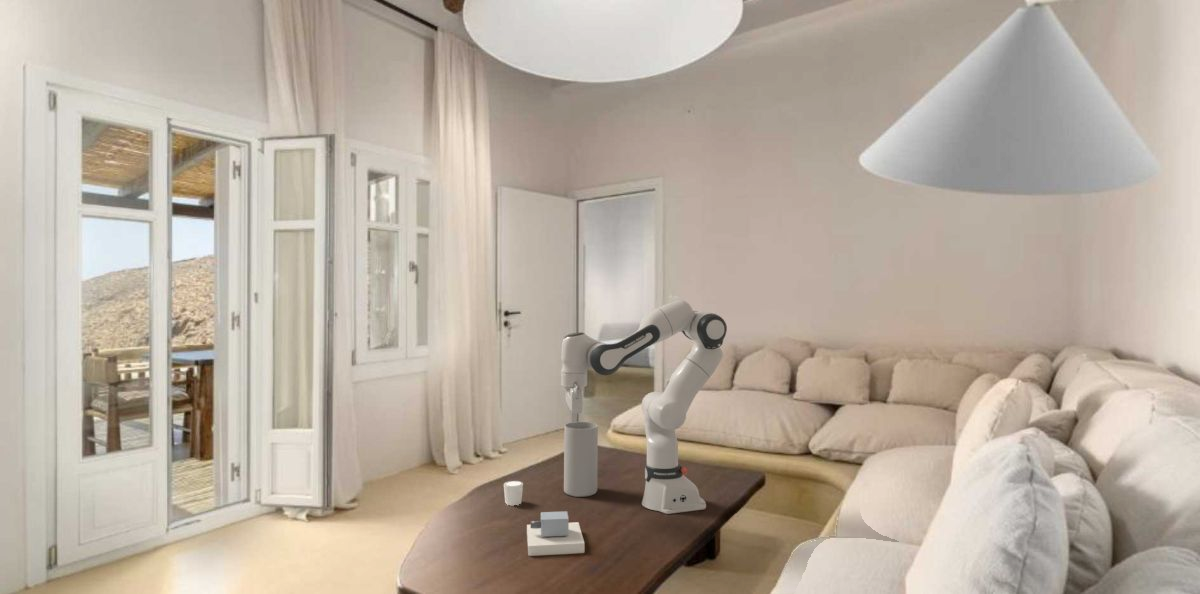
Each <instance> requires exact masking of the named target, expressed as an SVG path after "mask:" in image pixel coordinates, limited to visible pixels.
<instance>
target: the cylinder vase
mask: <svg viewBox="0 0 1200 594" xmlns="http://www.w3.org/2000/svg"><path fill="white" fill-rule="evenodd" d="M563 426H564V431H563V434H564V437H563V438H564V439H563V492H564V493H565V494H566V495H568V496H570V497H576V498H583V497H591V496H593V495H595V494H596V493H597V491H598V456H599V455H598V450H599V449H598V447H599V446H598V442H599V441H598V440H599V439H598V437H599V435H598V434H599V432H598V431H599V425H598V424H597V423H595V422H590V421H577V422H572V421H571V422H569V423H568V422H567V423H566V424H564V425H563Z"/></svg>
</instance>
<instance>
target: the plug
mask: <svg viewBox="0 0 1200 594" xmlns="http://www.w3.org/2000/svg"><path fill="white" fill-rule="evenodd" d="M569 521H570V519H569V514H568V510H566V511H541V512H540V520H531V521H530V524H531V528H541V537H547V538H549V536H556V537H561V536H568V530H569V523H570V522H569Z"/></svg>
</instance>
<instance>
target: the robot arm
mask: <svg viewBox="0 0 1200 594" xmlns="http://www.w3.org/2000/svg"><path fill="white" fill-rule="evenodd" d="M638 327H639V328H638V329H637V330H635V332H633V333H632V334H630V335H628V336H627V337H625V338H623V339H621V340H619V341H618V342H615V343H605V342H601V341H599V340H596V339H594V338H592V337H591V336H589V335H587V334H586V333H585V332H574V333H569V334H567V335H565V336H564V338H563V339H562V343H561V353H560V356H561V357H560V361H561V362H562V363H561V369H560V386H561V387H563V388H564V396H565V401H566V404H567V406H568V409H569V410H570V411H569V412H570V421H571V423H572V422H578V414H581V413H583V391H584V388H585V387H587V386H588V370H590V369H592V370H594V372H595V373H597V374H598V375H601V376H610V375H613V374H615V373H616V372H617V371H618V370H619V369H620V368H621V366H622V365H623V364H624V363H625V362H626V361H627V360H628V359H629V358H632V357H633V356H635V355H637V354H638V353H640V352H642V351H643V350H645V349H647V348H648V347H650V346H652V345H655V344H659V342H662V341H663V342H664V340H667V339H669V338H671V337H673V336H675V335H676V334H678V333H680V332H681V333H682V334H683V335H684V336H685V337H686V338H687V339H689V340H692V341H694V342H693V346H692V349H691V350H690V352H689V353H688V354H687V356H686V357H685V358H684V359H683V360H682V362H681V363H680V364H679V365H678V366H677V368H675V370H674V371H673V372H672V373H671V375H670V380H669V382H668V384H667V386H666V388H665V389H664V391H651V392H649V393H647V394H646V395H645V396H643V398H642V400H641V410H642V415H643V425H644V430H645V438H646V463H645V468H644V479H645V486H644V493H643V497H642V501H641V505H642V507H644V508H646V509H649V510H652V511H656V512H660V513H663V514H667V515H668V514H669V515H670V514H677V513H678V514H679V513H687V512H693V511H695V512H696V511H700V510H701V511H702V510H706V508H707V504H706V503H707V502H706V501H705V500H704V499H703V498H702V497H701V496H700V493H699V492H700V491H699V489H698V487H697V485H695V483H694V482H692V481H691V480H690V479H689V478H688V477H686V476H685V475H687V474H688V469H687V468H685V467H684V466H682V465H681V464H679V442H678V439H677V435H676V430H677V429H679V428H681V427H682V426H683V425H684V424H685V422H686V419H687V413H688V411H689V408H690V407H691V406H692V405H691V404H692V403H693V401H694V399H695V397H696V396H697V394H699V392H700V390H701V389H702V388H703V386H705V384H706V383H707V382H708V380H709V379H710V378H711V377H712V376H713V374H714V373H715V371H716V369H717V368H718V367H719V365H720V363H721V361H722V359H723V356H724V355H723V350H722V348H721V347H722V345H723V344H724V343H723V342H724V339H725V337H726V335H727V331H728V329H727V323H726V320H725V319H723V317H721V316H720V315H718V314H716V313H712V312H708V311H699V310H698V311H697V310H693V308H692V306H691V305H690V304H689V303H688V302H687V301H686V300H682V299H678V300H675V301H674V300H673V301H672V302H669V303H666V304H664V305H660V306H659V307H657V308H654V309H653V310H651V311H650V312H648V313H647V314H646V315H644V316H643V317H642V318H641V320H640V321H639V326H638Z"/></svg>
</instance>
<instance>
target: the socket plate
mask: <svg viewBox="0 0 1200 594" xmlns="http://www.w3.org/2000/svg"><path fill="white" fill-rule="evenodd" d="M526 540H527V541H526V542H527V553H528V554H527V556H529V557H532V556H533V557H534V556H550V555H551V556H552V555H554V556H555V555H569V554H571V555H573V554H584V553H585V552H586V551H585V543H586V542H585V540H584V537H583V534H582V530H581V526H580V522H579V521H578V522H576V521H575V522H569V530H568V536H561V537H556V536H549V538H547V537H541V528H531V523H530V524H526Z"/></svg>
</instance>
